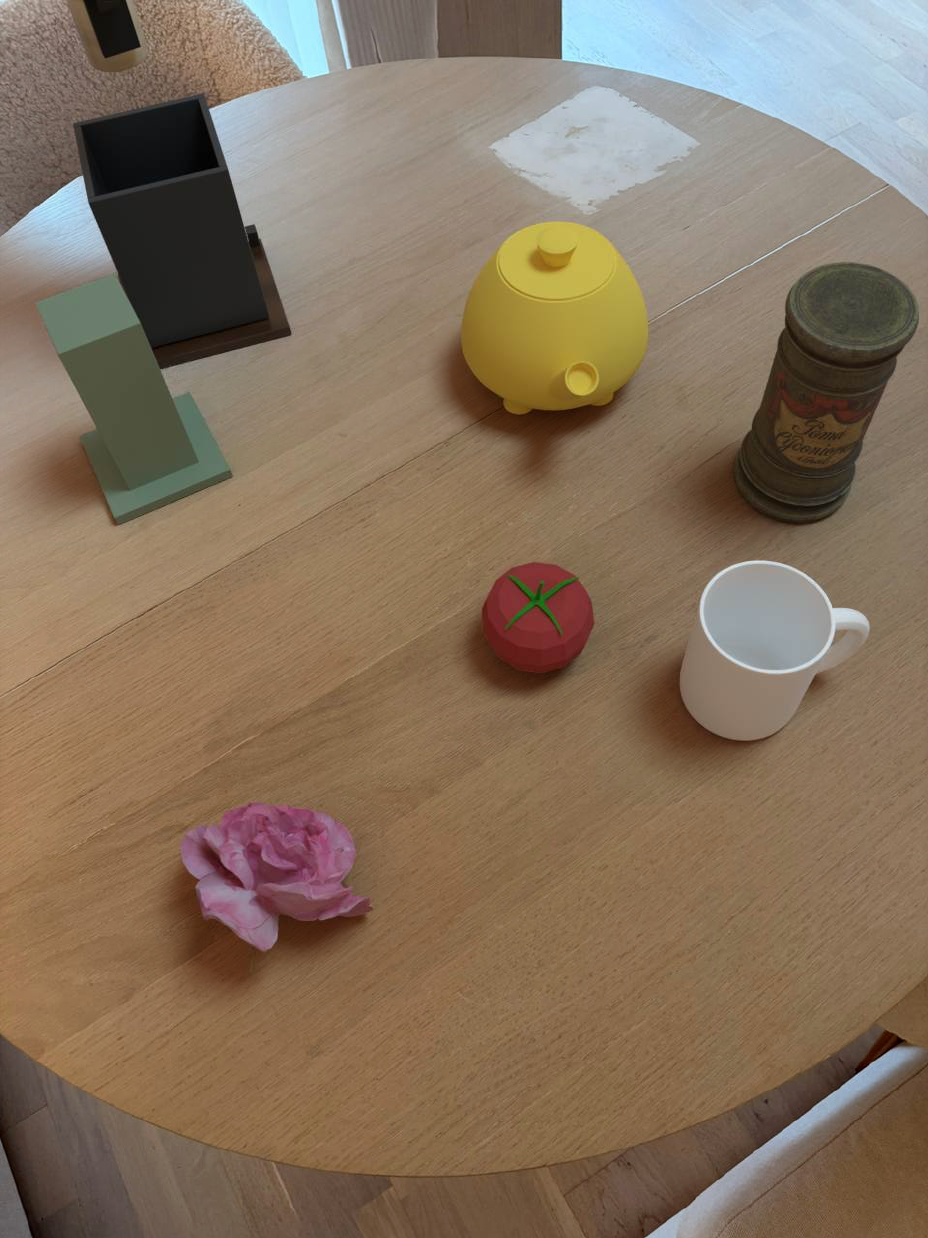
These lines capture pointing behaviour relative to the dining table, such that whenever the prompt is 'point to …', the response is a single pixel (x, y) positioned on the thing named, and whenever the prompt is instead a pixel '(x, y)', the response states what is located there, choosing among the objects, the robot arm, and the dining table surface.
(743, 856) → the dining table surface
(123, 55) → the cylinder
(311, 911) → the flower
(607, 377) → the teapot
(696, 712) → the mug
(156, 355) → the bin stand
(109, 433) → the pedestal
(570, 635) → the tomato
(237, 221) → the bin
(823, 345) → the container
